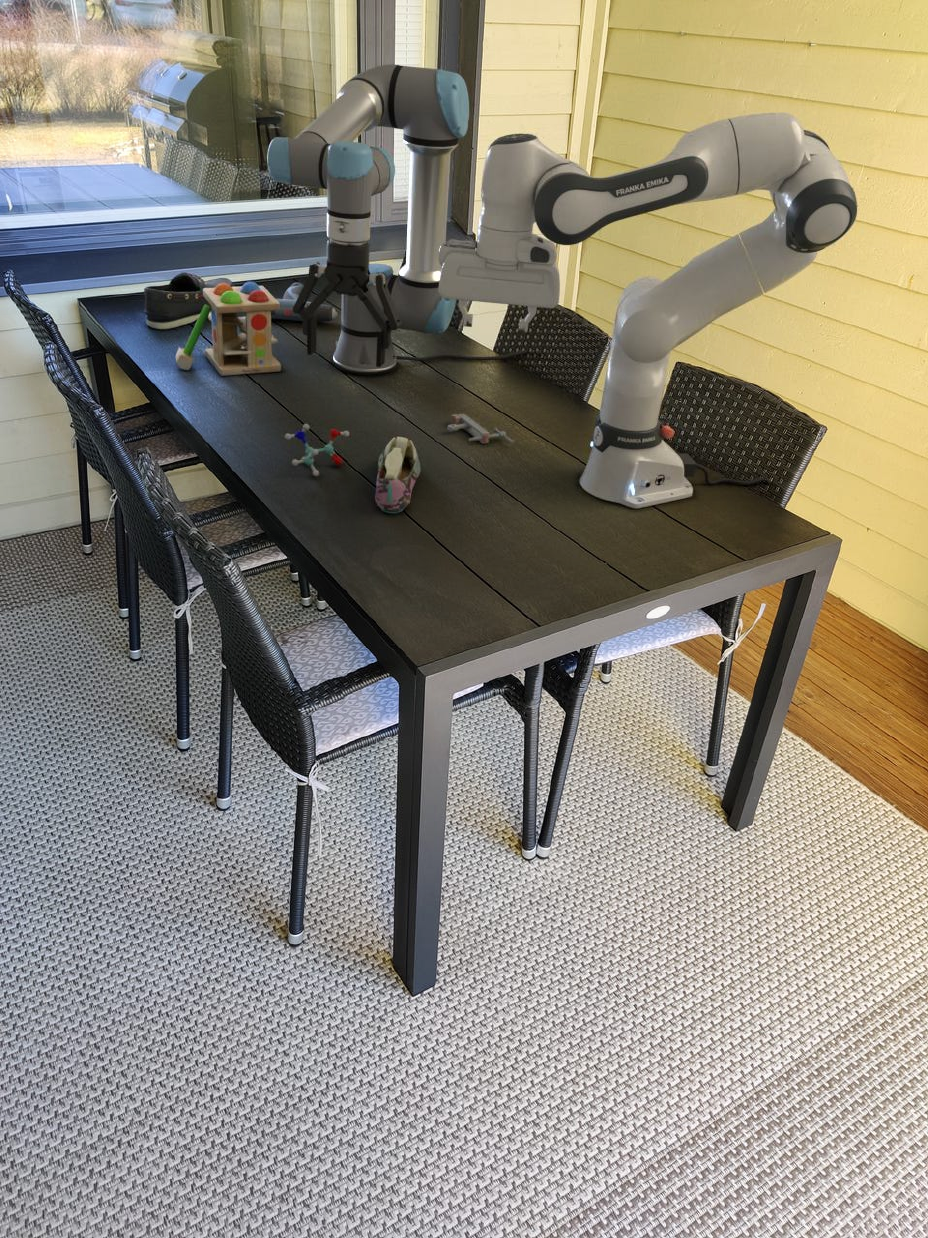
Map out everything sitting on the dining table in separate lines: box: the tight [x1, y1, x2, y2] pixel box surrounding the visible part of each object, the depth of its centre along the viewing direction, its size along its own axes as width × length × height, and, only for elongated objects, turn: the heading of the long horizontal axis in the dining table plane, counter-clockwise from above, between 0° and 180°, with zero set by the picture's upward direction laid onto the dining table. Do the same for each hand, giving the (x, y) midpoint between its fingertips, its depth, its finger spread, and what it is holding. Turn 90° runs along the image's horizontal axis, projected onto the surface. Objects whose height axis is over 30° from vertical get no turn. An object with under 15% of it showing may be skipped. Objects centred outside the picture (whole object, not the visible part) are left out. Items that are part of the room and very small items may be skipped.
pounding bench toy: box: [174, 281, 282, 377], centre depth 225 cm, size 23×14×18 cm, turn 116°
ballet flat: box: [374, 436, 421, 514], centre depth 184 cm, size 8×24×9 cm, turn 178°
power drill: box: [271, 282, 338, 322], centre depth 265 cm, size 5×19×20 cm
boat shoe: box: [143, 271, 236, 330], centre depth 257 cm, size 13×33×10 cm, turn 147°
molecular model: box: [284, 423, 350, 477], centre depth 188 cm, size 12×10×10 cm
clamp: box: [447, 413, 515, 445], centre depth 208 cm, size 15×2×10 cm
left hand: (345, 358), depth 184 cm, fingers open, 13 cm apart
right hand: (495, 328), depth 167 cm, fingers open, 8 cm apart
